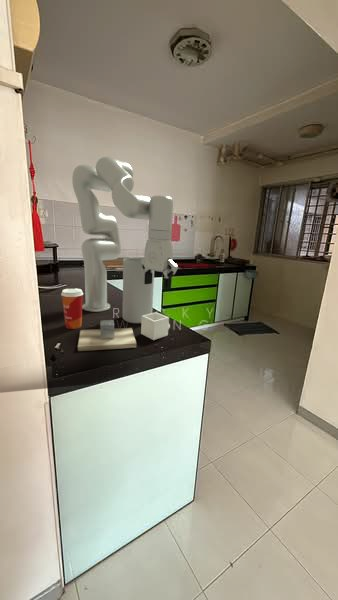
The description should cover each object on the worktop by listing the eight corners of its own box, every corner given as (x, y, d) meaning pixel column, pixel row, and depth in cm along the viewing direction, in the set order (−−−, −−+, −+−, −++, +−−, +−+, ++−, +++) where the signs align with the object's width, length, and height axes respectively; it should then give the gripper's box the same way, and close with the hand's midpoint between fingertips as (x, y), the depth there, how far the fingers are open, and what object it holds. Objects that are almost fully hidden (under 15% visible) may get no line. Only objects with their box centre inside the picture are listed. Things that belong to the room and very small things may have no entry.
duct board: (80, 333, 90) (80, 330, 89) (131, 331, 95) (131, 327, 94) (77, 351, 78) (77, 346, 77) (136, 347, 83) (136, 343, 82)
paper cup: (62, 323, 98) (60, 288, 94) (83, 321, 101) (82, 287, 97) (63, 331, 91) (61, 293, 87) (85, 329, 94) (84, 292, 90)
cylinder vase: (126, 325, 100) (127, 262, 93) (119, 314, 111) (120, 257, 104) (155, 322, 105) (159, 262, 98) (147, 312, 116) (149, 258, 109)
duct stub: (100, 334, 87) (100, 320, 86) (113, 333, 88) (113, 320, 87) (100, 339, 83) (100, 325, 82) (114, 338, 84) (114, 324, 83)
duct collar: (141, 333, 93) (141, 315, 91) (160, 327, 100) (161, 310, 98) (153, 340, 89) (154, 321, 87) (173, 333, 96) (174, 315, 94)
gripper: (134, 234, 87) (133, 283, 92) (170, 237, 75) (166, 293, 80) (151, 234, 92) (149, 280, 97) (186, 238, 80) (182, 290, 85)
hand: (157, 286), depth 88 cm, fingers open, 9 cm apart
